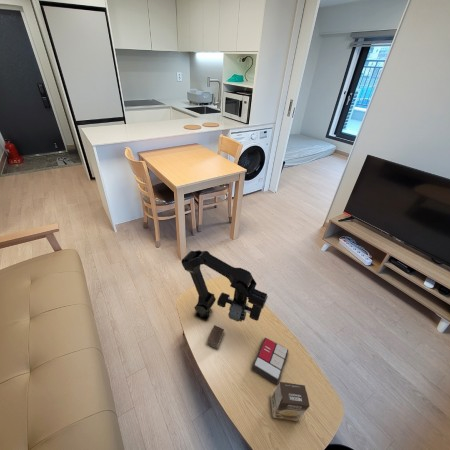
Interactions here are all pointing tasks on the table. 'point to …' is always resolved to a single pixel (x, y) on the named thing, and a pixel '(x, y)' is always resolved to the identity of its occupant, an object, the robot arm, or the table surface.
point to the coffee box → (289, 401)
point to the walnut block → (215, 337)
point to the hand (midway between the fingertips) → (237, 316)
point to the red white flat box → (270, 360)
